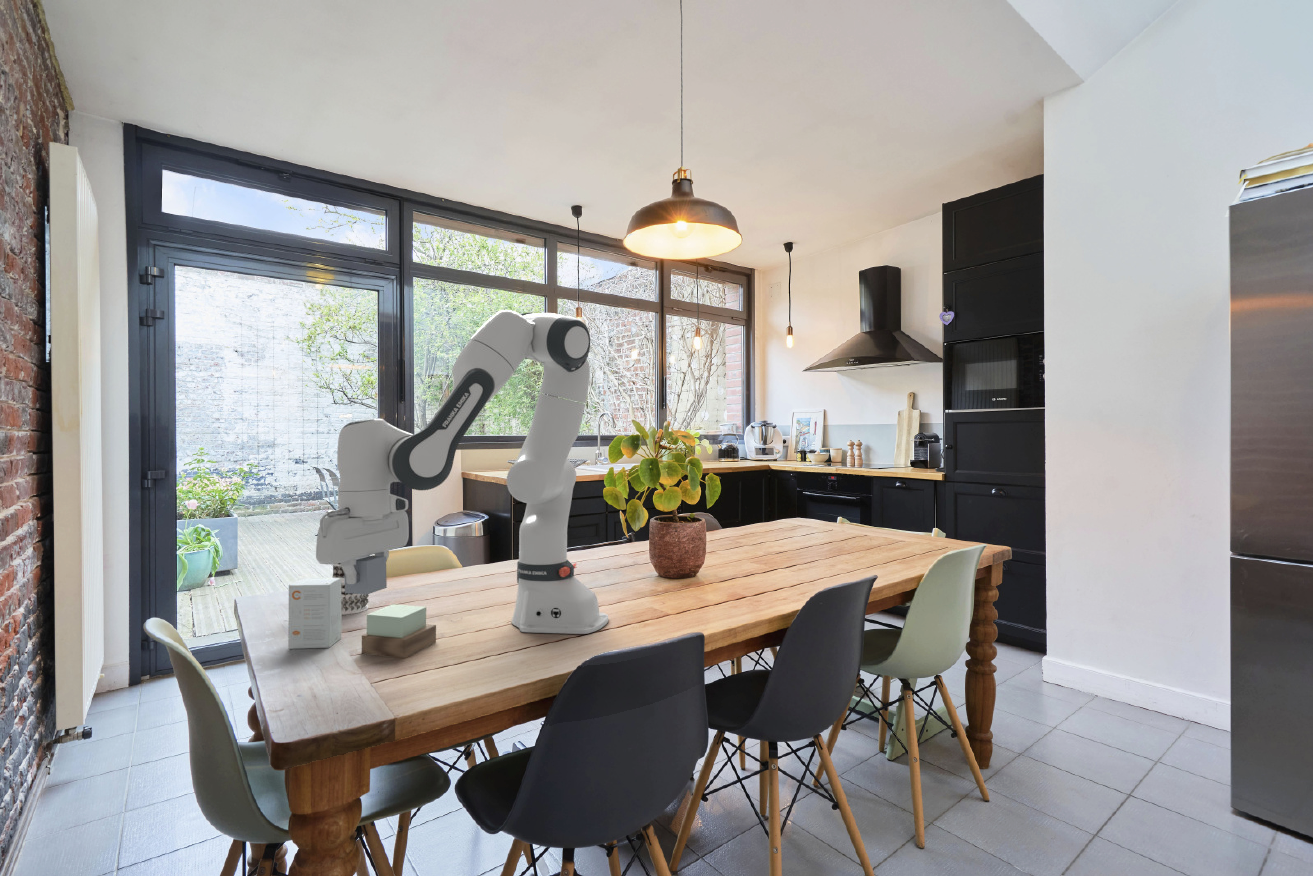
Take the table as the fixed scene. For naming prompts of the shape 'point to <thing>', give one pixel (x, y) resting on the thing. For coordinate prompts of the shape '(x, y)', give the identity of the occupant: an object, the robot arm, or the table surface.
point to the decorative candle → (349, 595)
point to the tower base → (399, 643)
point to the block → (369, 575)
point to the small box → (314, 613)
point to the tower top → (396, 620)
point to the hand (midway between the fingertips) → (366, 579)
